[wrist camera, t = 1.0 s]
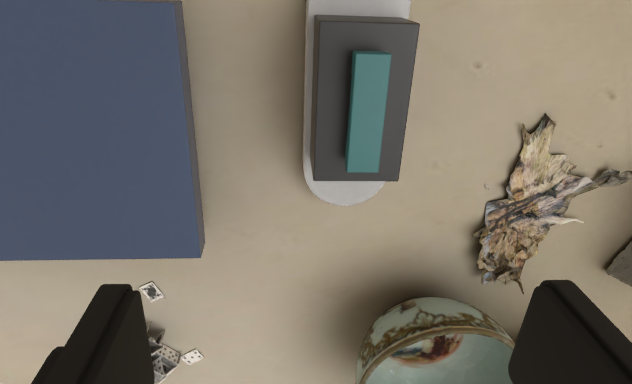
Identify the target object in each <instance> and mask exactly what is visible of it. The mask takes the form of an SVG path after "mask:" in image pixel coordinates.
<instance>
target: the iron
mask: <svg viewBox="0 0 632 384" xmlns="http://www.w3.org/2000/svg"><path fill="white" fill-rule="evenodd" d="M410 3H411V0H306V31H305V73H304V115H303V157H302V162H303V170H304V176H305V180H306V183H307V185H308V187H309V188H310V190H311V191H312V192H313V193H314V194H315V195H316V196H317V197H318V198H319V199H321V200H323V201H325V202H327V203H329V204H333V205H337V206H351V205H356V204H359V203H362V202H364V201H366V200H368V199H370V198H371V197H373V196H374V195H375V194H376V193H377V192H378V191H379V190H380V189H381V188H382V187H383V185H384V183H385V182H386V181H398V179H399V172H400V165H401V157H402V150H403V143H404V135H405V128H406V121H407V114H408V106H409V99H410V92H411V85H412V77H413V70H414V63H415V55H416V48H417V41H418V34H419V26H420V24H419V23H416V22H413V21H410V20H408V19H409V11H410Z"/></svg>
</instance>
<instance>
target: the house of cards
mask: <svg viewBox="0 0 632 384" xmlns="http://www.w3.org/2000/svg"><path fill="white" fill-rule="evenodd" d="M139 289H140V290H141V291H142V292H143V293H144V294H145V296H146V297H147V298H148V299H149V300H150V301H151V302H153V301H156V300H158V299H160V298H163V297H164V295H163V294H162V293H161V292H160V291H159V289H158V288H157V287H156V286H155V285H154V283H153V282H151V283H148V284H146V285H144V286H141V287H139ZM150 324H151V322H150V323H149V324H148V325H147V326H146V328H147V332H148V329H149V326H150ZM164 332H165V330H164V331H163V332H162V333H161V334H159V335H158V336H157V337H156V340H155V339H153V338H151V337H150V336H148V340H149V345H150V351H151V357H152V362H153V368H154V375H155V380H154V384H160V383H161V382H162V381H163V380H164V379H166V378H167V377H168V375H169V374H170V373H171V372H173V371H174V370H175V368H176V367H178V366H179V360H180V358H181V359H182V360H183V361H185V362H186V363H187V364H188V365H190V364H192V363H194V362H196V361H198V360H201V359H203V358H204V357H203V356H202V355H201V354H200V353H199V352H198V351H197V350H196V349H195V350H193V351H191V352H189V353H187V354H185V355H183V356H181V353H182V352H181V353H180V354H179V353H178V352H176V351H174V350H172V349H171V348H169V347H167V346H165V345H164V344H162V343H161V341H162V338H163V335H164Z"/></svg>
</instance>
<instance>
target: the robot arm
mask: <svg viewBox="0 0 632 384" xmlns="http://www.w3.org/2000/svg"><path fill="white" fill-rule="evenodd" d="M508 373H509V377H510V379H511V381H512V383H513V384H632V343H631V342H630V341H629V340H628V339H627V338H626V337H625V335H624V334H623V333H622V332H621V331H620V330H619V329H618V328H617V327H616V326H615V325H614V324H613V323H612V322H611V321H610V320H609V319H608V318H607V317H606V316H605V315H604V314H603V313H602V312H601V311H600V309H599V308H598V307H597V306H596V305H595V304H594V303H593V302H592V301H591V300H590V299H589V298H588V297H587V296H586V295H585V294H584V293H583V292H582V291H581V290H580V289H579V288H578V287H577V286H576V285H575V284H574V283H573V282H572V281H569V280H545V281H543V282H542V283H541V284H540V286H538V287H536V288H535V289H534V291H533V294H532V297H531V300H530V303H529V306H528V309H527V312H526V314H525V317H524V320H523V323H522V326H521V329H520V332H519V335H518V338H517V340H516V343H515V346H514V349H513V352H512V355H511V358H510V361H509V364H508ZM154 380H155V375H154V368H153V362H152V357H151V351H150V345H149V340H148V334H147V328H146V322H145V317H144V311H143V305H142V300H141V295H140V292H139V291H133V290H132V287H131V285H129V284H103V285H101V286H100V288H99V289H98V291H97V292H96V294H95V296H94V297H93V299H92V301H91V302H90V304H89V306H88V308H87V309H86V311H85V313H84V314H83V316H82V318H81V319H80V321H79V323H78V325H77V326H76V328H75V330H74V331H73V333H72V335H71V336H70V338H69V340H68V341H67V343H66V345H65V346H64V347H57V348H55V349H54V350H53V351H52V352H51V353H50V355H49V356H48V357H47V359H46V360H45V362H44V364H43V365H42V367H41V369H40V370H39V372H38V373H37V375H36V377H35V378H34V380H33V381H32V383H31V384H154Z"/></svg>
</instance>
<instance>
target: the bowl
mask: <svg viewBox="0 0 632 384" xmlns="http://www.w3.org/2000/svg"><path fill="white" fill-rule="evenodd" d="M514 346H515V342H513V340H512V339H511V338H510V337H509V336H508V334H507V333H506V332H505V331H504V330H503V329H502V328H501V326H500V325H498V324H497V323H496V322H495V321H494V320H492V319H491V318H490V317H489V316H487V315H486V314H484V313H483V312H481V311H480V310H478V309H476V308H475V307H473V306H471V305H468V304H466V303H463V302H460V301H457V300H454V299H449V298H442V297H422V298H412V299H408V300H405V301H403V302H401V303H399V304H397V305H396V306H394V307H392V308H391V309H389V310H388V311H386V312H385V313H383V314H382V315H381V316H380V317H379V318H378V319H377V320H376V322H375V323H374V324H373V325H372V326H371V328H370V329H369V331H368V333H367V334H366V336H365V338H364V340H363V343H362V346H361V349H360V352H359V355H358V359H357V367H356V384H513V383H512V381H511V379H510V377H509V373H508V364H509V361H510V358H511V355H512V352H513V349H514Z"/></svg>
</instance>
